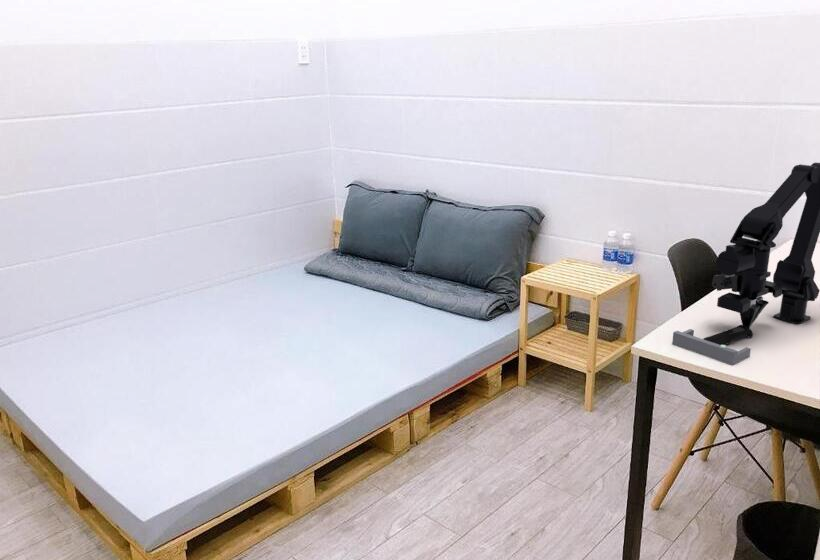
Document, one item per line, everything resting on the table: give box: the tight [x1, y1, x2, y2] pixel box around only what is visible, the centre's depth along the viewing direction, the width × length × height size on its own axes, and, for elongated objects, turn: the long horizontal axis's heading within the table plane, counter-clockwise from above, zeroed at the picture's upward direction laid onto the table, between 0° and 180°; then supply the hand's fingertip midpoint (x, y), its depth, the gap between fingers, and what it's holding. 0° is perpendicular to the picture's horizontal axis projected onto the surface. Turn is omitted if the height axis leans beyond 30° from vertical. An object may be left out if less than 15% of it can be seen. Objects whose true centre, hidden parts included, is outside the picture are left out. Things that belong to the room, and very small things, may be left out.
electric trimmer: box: [703, 324, 754, 346], centre depth 161 cm, size 4×16×3 cm, turn 119°
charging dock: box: [671, 328, 752, 366], centre depth 156 cm, size 7×15×3 cm, turn 36°
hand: (745, 328), depth 165 cm, fingers closed
